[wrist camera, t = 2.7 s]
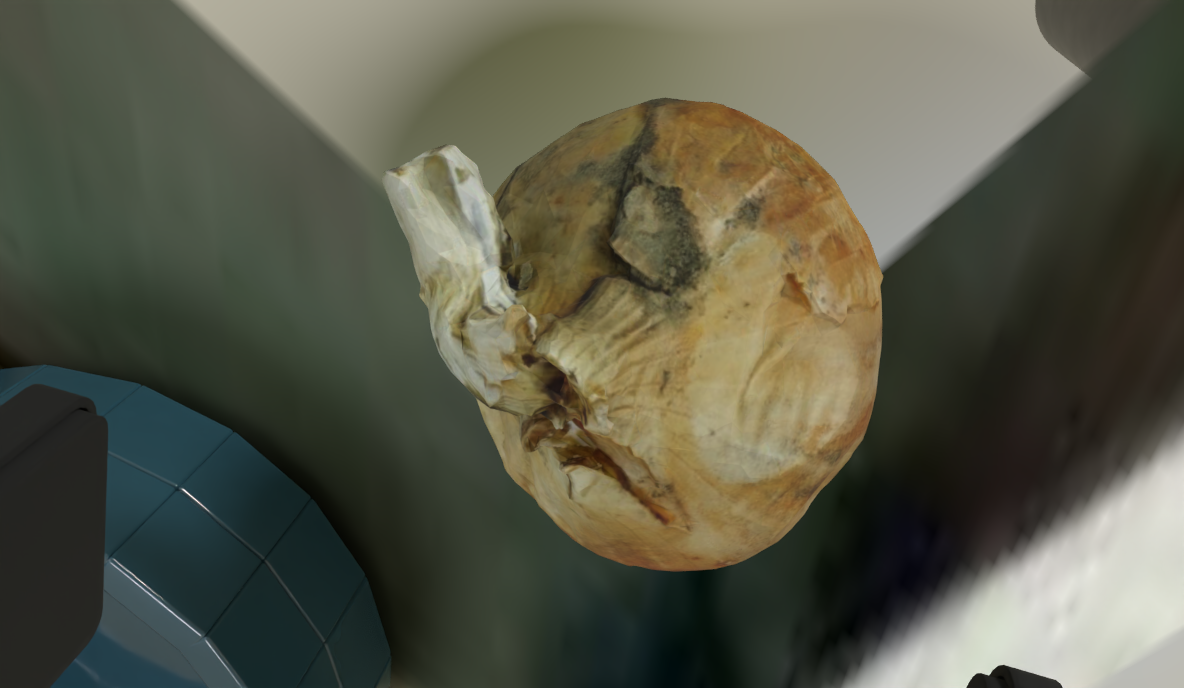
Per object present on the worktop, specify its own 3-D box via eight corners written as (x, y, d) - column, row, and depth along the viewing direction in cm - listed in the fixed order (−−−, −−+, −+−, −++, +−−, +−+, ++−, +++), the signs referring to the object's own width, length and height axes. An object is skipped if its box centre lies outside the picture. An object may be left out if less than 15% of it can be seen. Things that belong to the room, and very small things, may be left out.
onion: (475, 409, 23) (330, 654, 16) (504, 37, 20) (334, 140, 13) (822, 477, 23) (829, 766, 15) (914, 100, 19) (979, 247, 12)
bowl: (516, 648, 26) (448, 834, 21) (202, 889, 32) (92, 1077, 27) (33, 231, 24) (-171, 330, 19) (-208, 577, 30) (-411, 720, 25)
